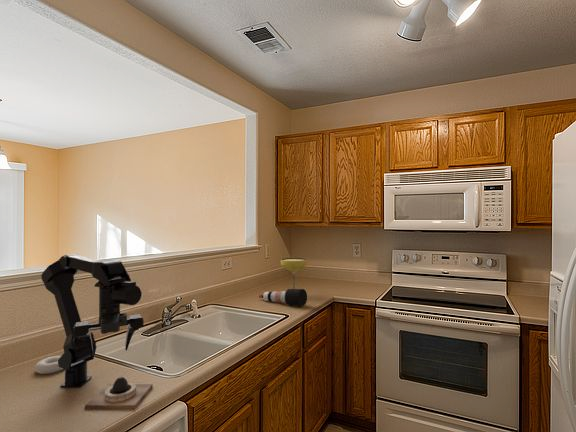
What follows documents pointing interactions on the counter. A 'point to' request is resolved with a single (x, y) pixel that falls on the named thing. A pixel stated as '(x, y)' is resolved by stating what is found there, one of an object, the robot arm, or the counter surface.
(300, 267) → the cocktail glass
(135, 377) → the counter surface
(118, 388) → the egg
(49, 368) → the donut
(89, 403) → the egg stand
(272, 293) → the bottle
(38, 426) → the counter surface
